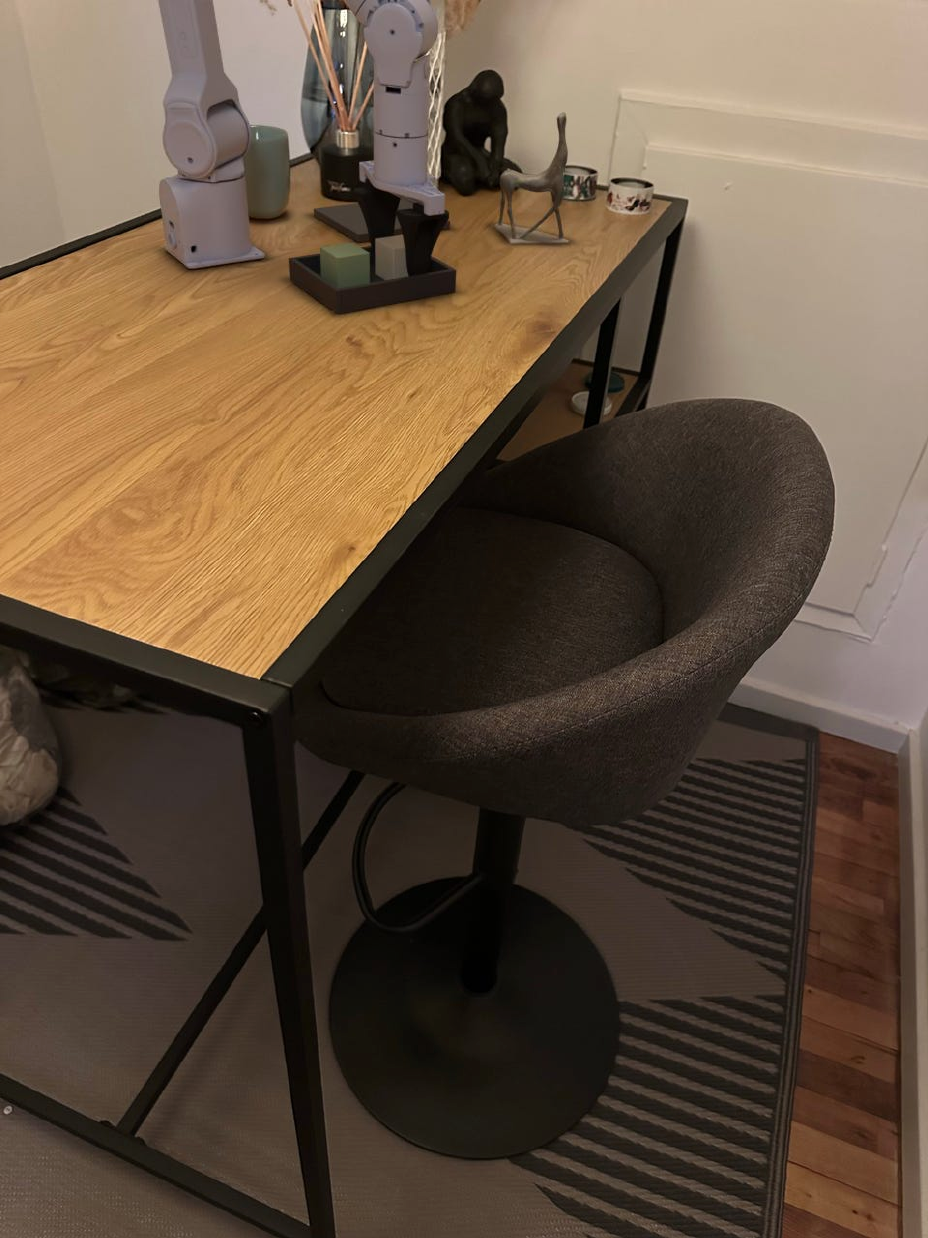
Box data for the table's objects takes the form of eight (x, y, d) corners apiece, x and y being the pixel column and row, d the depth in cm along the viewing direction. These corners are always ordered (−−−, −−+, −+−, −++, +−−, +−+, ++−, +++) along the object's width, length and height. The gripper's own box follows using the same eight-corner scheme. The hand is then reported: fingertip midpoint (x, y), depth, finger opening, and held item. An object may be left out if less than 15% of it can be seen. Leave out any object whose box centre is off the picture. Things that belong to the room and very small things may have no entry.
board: (358, 242, 114) (357, 234, 113) (313, 216, 121) (313, 208, 121) (450, 228, 121) (450, 221, 120) (402, 204, 128) (402, 197, 127)
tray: (337, 314, 96) (336, 290, 94) (289, 280, 103) (288, 257, 101) (455, 292, 103) (456, 269, 101) (403, 261, 110) (404, 240, 108)
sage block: (338, 295, 99) (337, 257, 96) (321, 283, 101) (319, 246, 99) (370, 289, 101) (369, 252, 98) (352, 278, 103) (351, 241, 100)
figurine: (475, 233, 120) (483, 105, 110) (500, 223, 124) (510, 99, 114) (547, 253, 115) (562, 121, 106) (571, 241, 120) (587, 113, 110)
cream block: (393, 285, 102) (393, 248, 99) (375, 274, 104) (375, 238, 102) (423, 280, 104) (424, 244, 101) (404, 269, 106) (405, 233, 104)
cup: (222, 218, 118) (213, 133, 112) (250, 203, 124) (243, 121, 118) (276, 227, 117) (270, 141, 110) (302, 211, 123) (298, 129, 116)
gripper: (472, 144, 92) (464, 279, 101) (397, 114, 101) (396, 240, 109) (413, 150, 89) (410, 289, 97) (341, 119, 97) (344, 248, 106)
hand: (399, 264), depth 103 cm, fingers open, 7 cm apart
